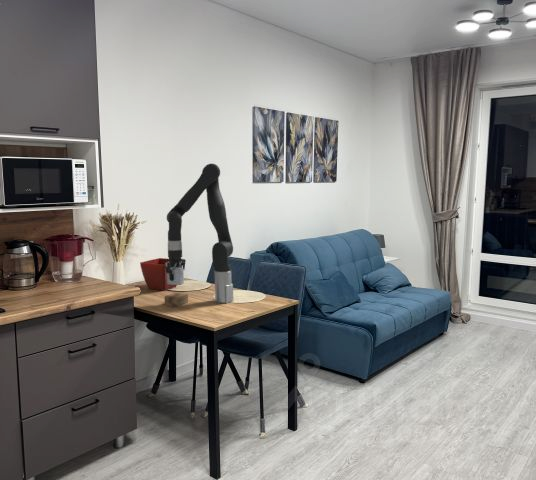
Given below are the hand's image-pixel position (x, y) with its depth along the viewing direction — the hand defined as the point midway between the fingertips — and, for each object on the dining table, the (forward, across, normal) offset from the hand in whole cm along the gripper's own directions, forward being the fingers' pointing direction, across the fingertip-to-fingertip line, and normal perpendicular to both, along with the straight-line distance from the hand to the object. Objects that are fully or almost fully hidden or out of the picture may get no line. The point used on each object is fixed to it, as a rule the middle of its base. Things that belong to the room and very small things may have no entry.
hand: (175, 279), depth 263 cm
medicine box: (+3, 0, 0) cm, 3 cm away
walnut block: (+14, 0, 0) cm, 14 cm away
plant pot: (+14, +23, +33) cm, 43 cm away
